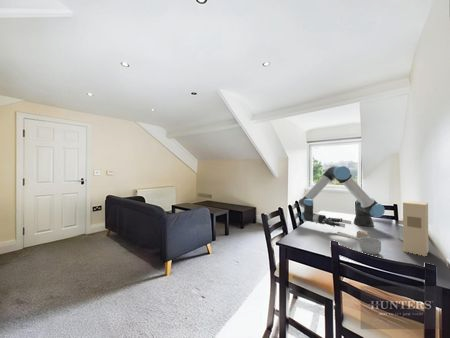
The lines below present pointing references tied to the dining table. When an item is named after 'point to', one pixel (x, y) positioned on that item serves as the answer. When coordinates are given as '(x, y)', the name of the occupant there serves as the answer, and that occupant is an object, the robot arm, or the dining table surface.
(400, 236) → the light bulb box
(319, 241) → the dining table surface
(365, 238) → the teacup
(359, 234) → the flap strip
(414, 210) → the carton
